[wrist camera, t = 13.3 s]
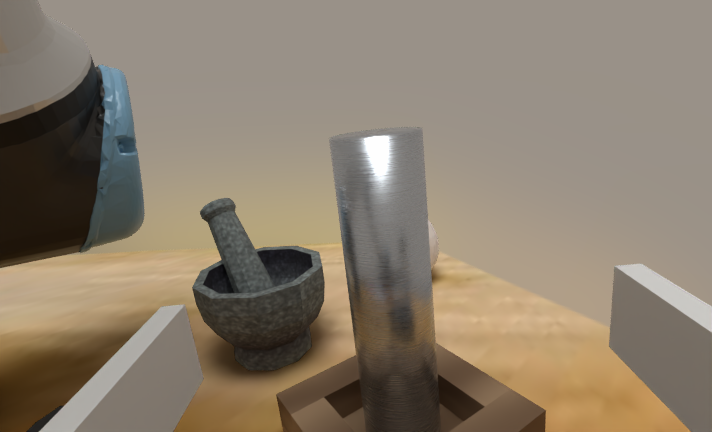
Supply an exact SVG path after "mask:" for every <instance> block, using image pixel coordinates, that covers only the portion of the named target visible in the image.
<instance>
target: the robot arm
mask: <svg viewBox="0 0 712 432" xmlns="http://www.w3.org/2000/svg"><path fill="white" fill-rule="evenodd" d="M143 220H144V200H143V190H142V182H141V174H140V166H139V160H138V153H137V149H136V139H135V133H134V122H133V116H132V109H131V103H130V97H129V92H128V86H127V81H126V78H125V75H124V74H123V72H122V71H120V70H119V69H116V68H109V67H107V66H103V65H98V67H95V66H94V63H93V60H92V57H91V54H90V51H89V49H88V46H87V45H86V43H85V42H84V40H83V38H82V37H81V36H80V35H79V34H78V33H77V32H75V31H74V30H73V29H71V28H70V27H68V26H66V25H64V24H63V23H61V22H59V21H57V20H55V19H53V18H51V17H49V16H48V15H46V14H44V13H43V11H42V10H41V8H40V5H39V3H38V0H0V268H2V267H7V266H12V265H17V264H22V263H27V262H32V261H37V260H42V259H47V258H52V257H57V256H62V255H67V254H72V253H76V252H80V253H82V252H86V251H88V250H89V249H90V248H92V247H95V246H100V245H103V244H107V243H111V242H114V241H117V240H122V239H125V238H128V237H130V236H132V235H133V234H134V233H136V232H137V231H138V229H139V228H140V227H141V225H142V223H143ZM613 282H614V283H613V296H612V311H611V325H610V340H609V347H610V348H611V349H612V350H613V351H614V352H615V353H616V354H617V355H618V356H619V357H620V359H621V360H622V361H623V362H624V363H625V364H626V365H627V366H628V367H629V368H630V369H631V370H632V371H633V372H634V373H635V374H636V375H637V376H638V377H639V378H640V379H641V380H642V381H643V382H644V383H645V384H646V385H647V386H648V387H649V388H650V389H651V391H652V392H653V393H654V394H655V395H656V396H657V397H658V398H659V399H660V400H661V401H662V402H663V403H664V404H665V405H666V406H667V407H668V408H669V409H670V410H671V411H672V412H673V413H674V414H675V415H676V416H677V417H678V418H679V419H680V420H681V422H682V423H683V424H684V425H685V426H686V427H687V428H688V429H689V430H690V431H691V432H712V306H710V305H708V304H707V303H705V302H703V301H702V300H700V299H698V298H697V297H695V296H694V295H692V294H690V293H688V292H687V291H685V290H684V289H682V288H680V287H679V286H677V285H675V284H674V283H672V282H670V281H669V280H667V279H666V278H664V277H662V276H661V275H659V274H657V273H656V272H654V271H652V270H651V269H649V268H647V267H646V266H644V265H642V264H632V265H620V266H615V267H614V281H613ZM203 379H204V378H203V374H202V370H201V366H200V362H199V358H198V354H197V350H196V346H195V342H194V338H193V334H192V330H191V326H190V322H189V318H188V314H187V310H186V306H185V305H174V306H162V307H161V308H160V309H159V310H158V311H157V312H156V313H155V314H154V315H153V316H152V317H151V318H150V319H149V320H148V321H147V322H146V323H145V324H144V325H143V326H142V327H141V328H140V329H139V330H138V331H137V332H136V333H135V334H134V335H133V336H132V337H131V338H130V339H129V340H128V341H127V342H126V343H125V344H124V345H123V346H122V347H121V348H120V349H119V350H118V352H117V353H116V354H115V355H114V356H113V357H112V358H111V359H110V360H109V361H108V362H107V363H106V364H105V365H104V366H103V367H102V368H101V369H100V370H99V371H98V372H97V373H96V374H95V375H94V376H93V377H92V378H91V379H90V380H89V381H88V382H87V383H86V384H85V385H84V386H83V387H82V388H81V389H80V390H79V391H78V392H77V393H76V394H75V395H74V396H73V397H72V398H71V400H70V401H69V402H68V403H67V404H66V405H65V406H59V407H58V408H56V409H55V410H53V411H52V412H50V413H49V414H48V415H46V416H45V417H43V418H42V419H40V420H39V421H37V422H36V423H35V424H34V425H33V426H32V427H31V428H30V429H29V430H28V431H27V432H173V431H174V429H175V427H176V426H177V424H178V422H179V420H180V419H181V417H182V415H183V414H184V412H185V410H186V408H187V407H188V405H189V403H190V401H191V400H192V398H193V396H194V395H195V393H196V391H197V389H198V388H199V386H200V384H201V382H202V381H203Z"/></svg>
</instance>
